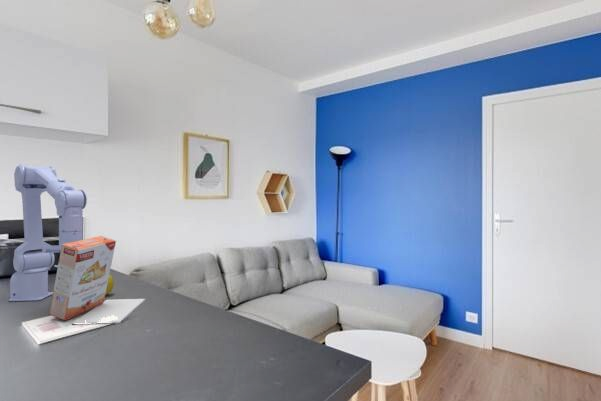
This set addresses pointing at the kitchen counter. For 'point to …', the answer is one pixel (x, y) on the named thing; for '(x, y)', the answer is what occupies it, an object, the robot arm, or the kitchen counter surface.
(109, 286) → the lemon
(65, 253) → the cracker box
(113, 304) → the white flat panel
